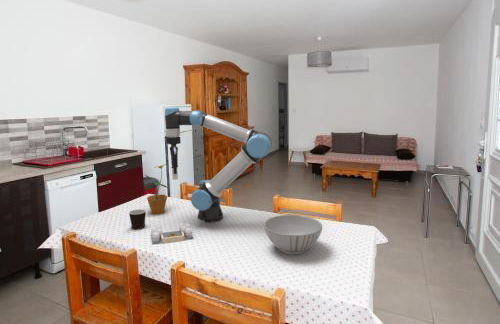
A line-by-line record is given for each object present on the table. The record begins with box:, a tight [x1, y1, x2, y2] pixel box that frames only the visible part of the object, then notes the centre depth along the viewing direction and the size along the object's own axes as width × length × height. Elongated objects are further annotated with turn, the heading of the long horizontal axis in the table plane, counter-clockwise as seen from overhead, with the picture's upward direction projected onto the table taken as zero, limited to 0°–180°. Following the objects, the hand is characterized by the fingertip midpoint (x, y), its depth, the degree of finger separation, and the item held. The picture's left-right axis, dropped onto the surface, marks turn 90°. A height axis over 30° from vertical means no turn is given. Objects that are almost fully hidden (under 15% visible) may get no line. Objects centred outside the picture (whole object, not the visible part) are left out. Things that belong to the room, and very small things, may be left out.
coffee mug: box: [128, 208, 147, 231], centre depth 186 cm, size 12×9×10 cm
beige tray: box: [150, 222, 195, 246], centre depth 172 cm, size 20×14×6 cm
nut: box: [168, 233, 178, 237], centre depth 170 cm, size 4×5×2 cm
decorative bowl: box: [263, 214, 323, 255], centre depth 158 cm, size 27×27×12 cm
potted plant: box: [145, 164, 169, 215], centre depth 211 cm, size 18×19×30 cm
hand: (175, 179), depth 187 cm, fingers closed
